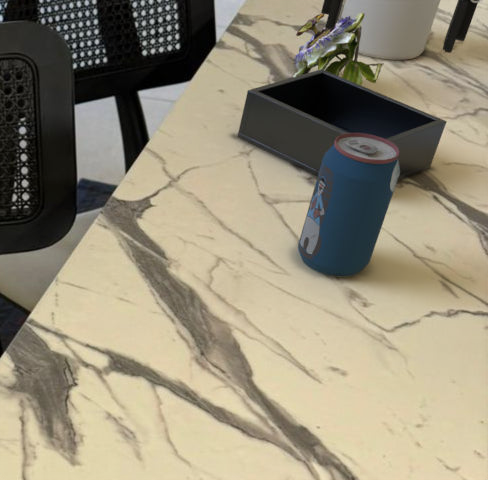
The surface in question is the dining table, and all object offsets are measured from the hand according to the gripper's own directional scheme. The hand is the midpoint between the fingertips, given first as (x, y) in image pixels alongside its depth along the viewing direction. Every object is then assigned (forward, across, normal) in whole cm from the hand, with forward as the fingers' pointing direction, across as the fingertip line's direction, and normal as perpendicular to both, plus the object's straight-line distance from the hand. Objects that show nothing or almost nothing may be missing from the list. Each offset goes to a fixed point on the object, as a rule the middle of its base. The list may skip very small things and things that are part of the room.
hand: (388, 35), depth 86 cm
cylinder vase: (+21, +1, -69) cm, 72 cm away
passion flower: (+22, +6, -47) cm, 52 cm away
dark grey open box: (+21, +2, -26) cm, 34 cm away
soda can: (+22, -1, 0) cm, 22 cm away
